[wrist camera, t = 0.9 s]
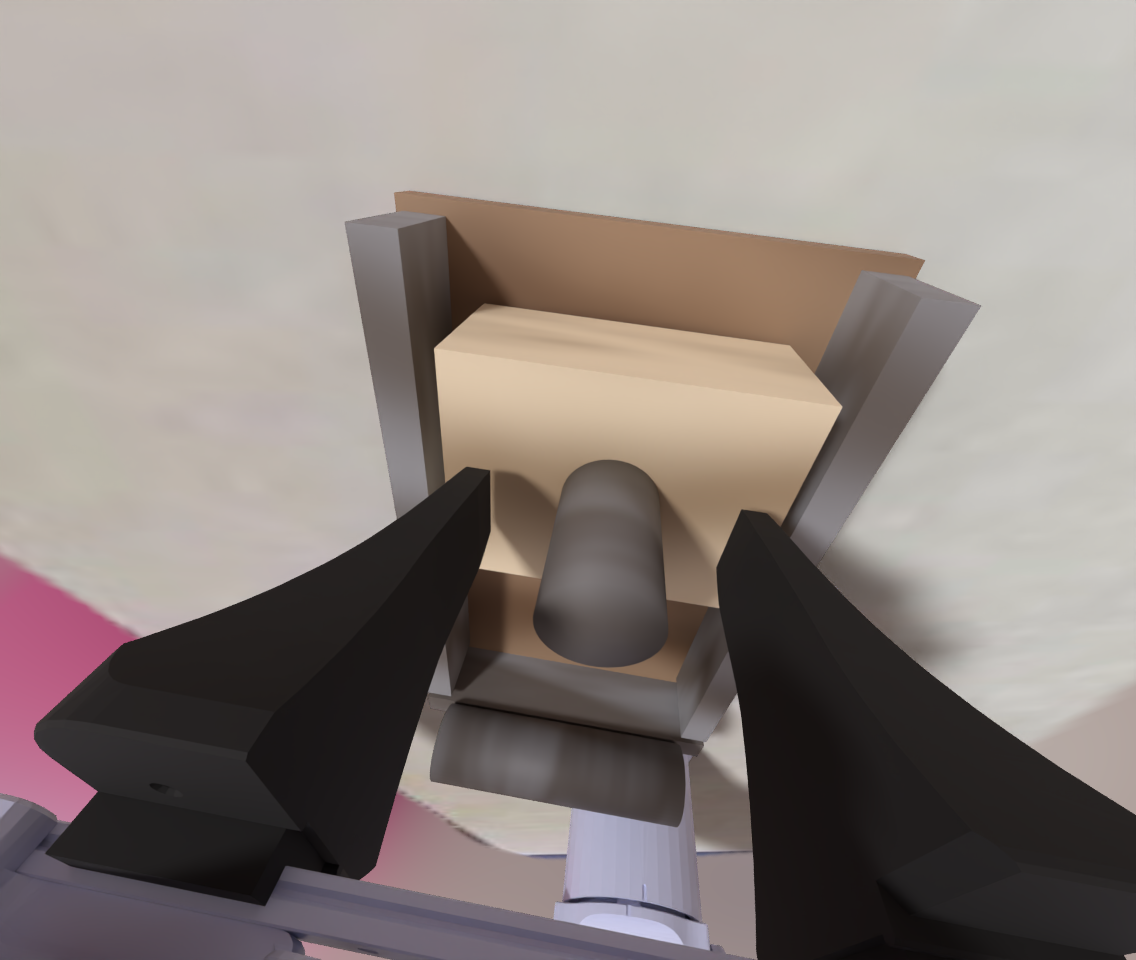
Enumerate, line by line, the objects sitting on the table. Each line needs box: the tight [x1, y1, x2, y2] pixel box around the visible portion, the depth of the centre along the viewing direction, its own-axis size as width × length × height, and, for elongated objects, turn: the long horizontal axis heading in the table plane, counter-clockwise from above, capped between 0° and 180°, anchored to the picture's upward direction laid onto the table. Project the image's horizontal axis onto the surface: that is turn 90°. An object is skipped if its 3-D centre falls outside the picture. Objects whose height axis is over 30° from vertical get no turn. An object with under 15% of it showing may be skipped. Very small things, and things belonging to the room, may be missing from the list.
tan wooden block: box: [434, 303, 842, 668], centre depth 12 cm, size 7×9×8 cm
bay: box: [345, 191, 981, 827], centre depth 16 cm, size 23×14×7 cm, turn 174°
